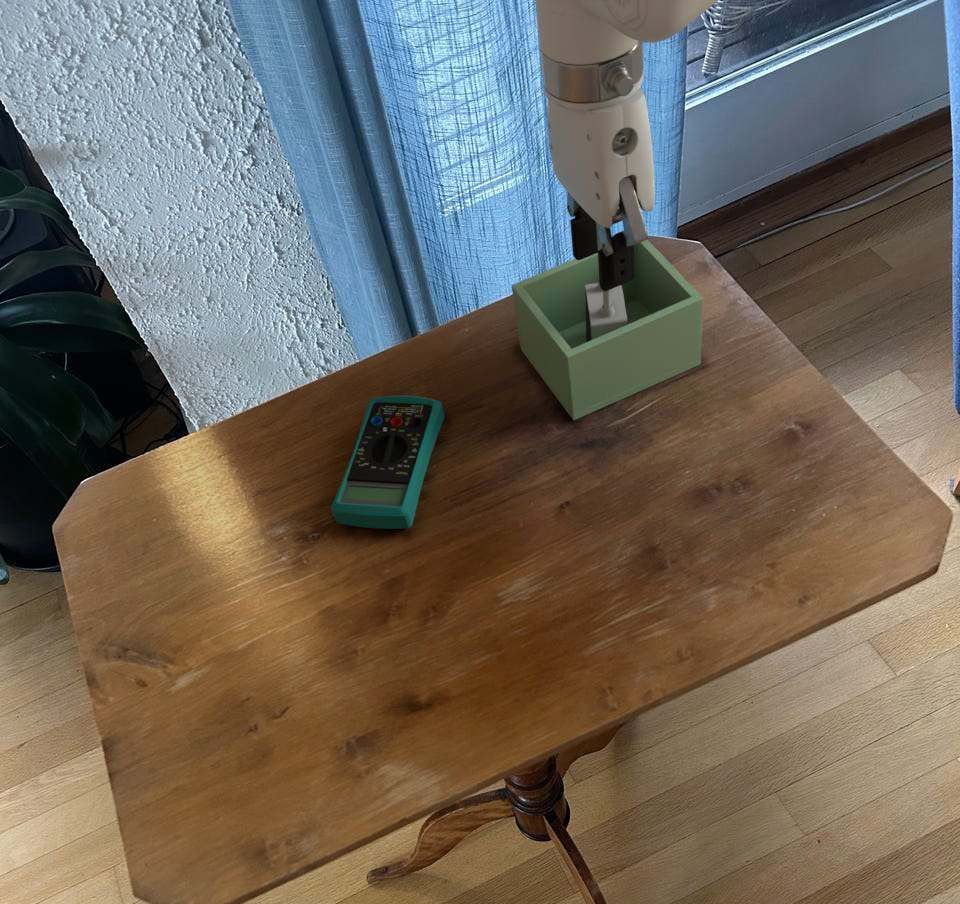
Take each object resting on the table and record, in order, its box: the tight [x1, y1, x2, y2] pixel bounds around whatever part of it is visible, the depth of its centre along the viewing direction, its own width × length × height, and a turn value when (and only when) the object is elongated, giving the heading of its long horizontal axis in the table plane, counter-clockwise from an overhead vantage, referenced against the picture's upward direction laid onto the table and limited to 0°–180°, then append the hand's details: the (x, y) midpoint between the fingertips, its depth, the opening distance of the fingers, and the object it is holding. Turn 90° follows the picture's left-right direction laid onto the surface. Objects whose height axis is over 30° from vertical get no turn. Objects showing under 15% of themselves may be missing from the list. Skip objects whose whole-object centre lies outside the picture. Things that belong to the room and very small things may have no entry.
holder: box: [511, 239, 704, 421], centre depth 97 cm, size 12×14×8 cm
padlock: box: [585, 223, 627, 342], centre depth 93 cm, size 7×4×15 cm, turn 2°
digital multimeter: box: [330, 394, 445, 530], centre depth 95 cm, size 7×15×3 cm, turn 168°
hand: (603, 266), depth 91 cm, fingers open, 4 cm apart
